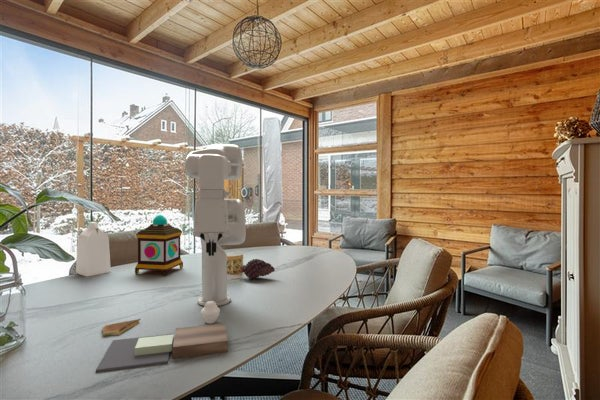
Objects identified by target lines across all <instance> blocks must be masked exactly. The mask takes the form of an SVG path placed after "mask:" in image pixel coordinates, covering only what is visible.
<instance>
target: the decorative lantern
mask: <svg viewBox="0 0 600 400" xmlns="http://www.w3.org/2000/svg"><path fill="white" fill-rule="evenodd" d="M182 234H183V231H182V230H181V229H179V227H175V226H172V225H171V224H170V223H168V219H167V218H166V217H165V216H164V215H161V214H159V215H158V214H157V215H156V216H155V217H154V218H153V220H152V223H151V224H149V226H147V227H146V228H145V229H141V230H139V231H137V233H135V236H136V238H137V264H136V265H135V268H134V273H135V275H139V273H140V270H142V271H162V272H163V274H164V276H165V277H167V276H168V273H169V272H168V271H170V270H171V269H174V268H176V267H178V266H179V269H181V270H182V269H183V268H184V262H183V260H182V258H181V236H182Z"/></svg>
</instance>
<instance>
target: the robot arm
mask: <svg viewBox="0 0 600 400" xmlns="http://www.w3.org/2000/svg"><path fill="white" fill-rule="evenodd" d="M242 170H243V152H242V149H241V148H240V146H239V145H237V144H226V143H213V144H210V145H208V146H207V147H206V148H205V149H198V150H193V151H191V152H189V153H188V154H187V156H186V158H185V161H184V171H185V175H187V177H188V178H191V179H198V199H195V202H194V203H195V204H194V214H193V233H192V236H193V237H196V238H200V244H201V296H200V297H198V298H197V304H199V305H200V306H203V307H204V306H205V304H206V303H207V302H208V301H214V302H215V303H216V305H217V307H220V306H224V305H227V304H229V303H230V302H231V301H232V296H230V294H228V256H227V253H226V252H225V250H224V249H223V248H222V247H221V246H235V245H237V246H238V245H241V244H244V243H245V241H246V236H247V235H246V234H247V233H246V232H247V231H246V230H247V228H246V211H245V205H244V202H243V201H242V200H241V199H239V198H227V197H229V196H230V191H227V190H226V189H225V180H226V181H227V180H228V181H236V180H239V179H240V178H241V176H242Z"/></svg>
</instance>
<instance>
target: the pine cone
mask: <svg viewBox="0 0 600 400" xmlns="http://www.w3.org/2000/svg"><path fill="white" fill-rule="evenodd" d="M239 269H240V271H239V272H240V273H243V274H244V275H245V276H246V277H247V278H248V279H251V280H254V279H256V278H259V277H264V276H265V277H266V276H268V275H270V274H272V273H274V272H275V267H274V266H272V264H271V263H269V262H266V261H264V260H263V259H259V258H253V259H251V260H249V261H248V262H247V263H246V264H243V265H241V266H239Z"/></svg>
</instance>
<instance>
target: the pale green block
mask: <svg viewBox="0 0 600 400" xmlns="http://www.w3.org/2000/svg"><path fill="white" fill-rule="evenodd" d="M172 334H173V335H167V334H162V335H163V336H157V335H153V336H154V337H148V336H143V337H144V338H139V339H138V342H137V344H136V346H135V356H137V355H145V354H154V353H162V352H170V353H171V352H173V343H174V337H175V333H172Z"/></svg>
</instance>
